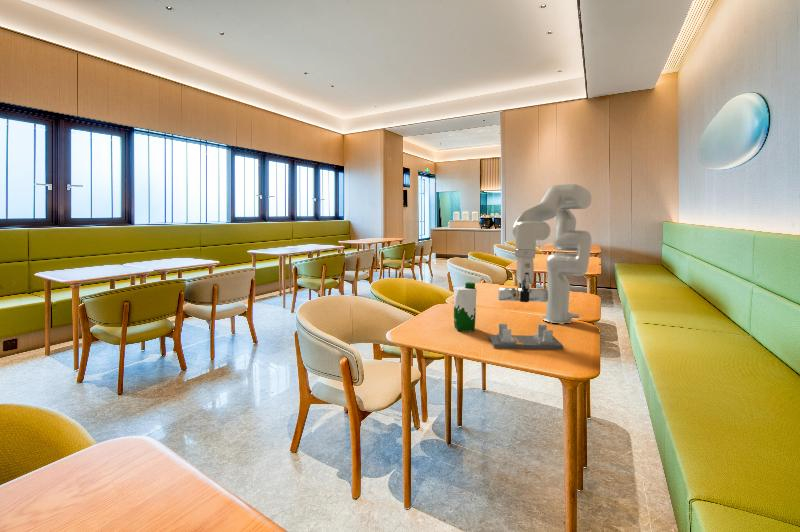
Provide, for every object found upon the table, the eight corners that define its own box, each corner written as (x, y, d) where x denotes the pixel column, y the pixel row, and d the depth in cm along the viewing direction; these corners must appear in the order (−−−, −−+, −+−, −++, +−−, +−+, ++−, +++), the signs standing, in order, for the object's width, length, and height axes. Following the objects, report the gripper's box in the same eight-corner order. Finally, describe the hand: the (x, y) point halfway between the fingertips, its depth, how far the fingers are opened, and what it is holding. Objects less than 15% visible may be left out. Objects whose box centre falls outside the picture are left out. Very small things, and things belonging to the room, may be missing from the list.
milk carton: (477, 331, 171) (478, 284, 169) (456, 332, 171) (457, 285, 168) (471, 326, 180) (473, 281, 178) (451, 326, 179) (452, 281, 177)
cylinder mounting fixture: (552, 339, 160) (553, 323, 160) (563, 349, 148) (564, 332, 148) (488, 338, 162) (489, 322, 161) (493, 348, 150) (494, 331, 149)
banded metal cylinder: (544, 301, 160) (545, 288, 160) (548, 302, 155) (548, 289, 155) (498, 299, 162) (498, 287, 162) (500, 301, 157) (500, 288, 157)
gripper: (540, 256, 148) (537, 305, 150) (530, 252, 165) (527, 296, 167) (519, 255, 148) (517, 304, 150) (511, 252, 165) (509, 296, 167)
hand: (522, 299), depth 158 cm, fingers closed on banded metal cylinder, 5 cm apart
